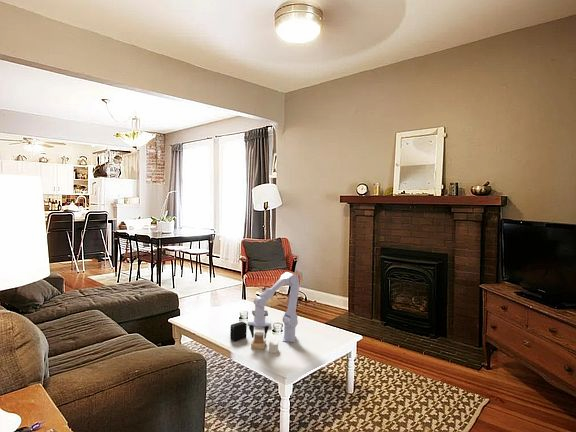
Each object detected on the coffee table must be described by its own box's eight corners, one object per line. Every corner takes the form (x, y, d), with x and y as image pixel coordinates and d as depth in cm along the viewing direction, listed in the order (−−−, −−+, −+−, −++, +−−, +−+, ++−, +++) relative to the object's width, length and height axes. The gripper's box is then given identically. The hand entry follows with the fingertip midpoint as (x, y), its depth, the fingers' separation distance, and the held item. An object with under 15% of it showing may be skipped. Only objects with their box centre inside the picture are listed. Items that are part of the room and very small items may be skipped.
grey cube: (269, 348, 223) (270, 340, 223) (278, 349, 223) (278, 341, 222) (268, 352, 218) (269, 344, 218) (277, 352, 218) (277, 344, 217)
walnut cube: (255, 339, 229) (255, 331, 228) (263, 340, 228) (263, 332, 228) (254, 342, 224) (254, 334, 223) (262, 343, 223) (262, 335, 223)
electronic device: (246, 337, 239) (246, 323, 238) (234, 341, 232) (234, 326, 231) (242, 336, 242) (242, 321, 241) (230, 339, 235) (230, 324, 234)
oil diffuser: (275, 318, 280) (276, 296, 279) (278, 329, 256) (279, 306, 255) (241, 318, 277) (242, 296, 276) (242, 330, 253) (242, 306, 252)
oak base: (253, 343, 231) (253, 338, 230) (266, 344, 230) (266, 339, 230) (251, 348, 223) (251, 343, 223) (263, 349, 222) (264, 344, 222)
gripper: (246, 317, 222) (246, 339, 223) (270, 319, 221) (269, 340, 221) (249, 313, 229) (248, 334, 230) (271, 315, 228) (271, 336, 228)
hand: (258, 337), depth 226 cm, fingers open, 7 cm apart
